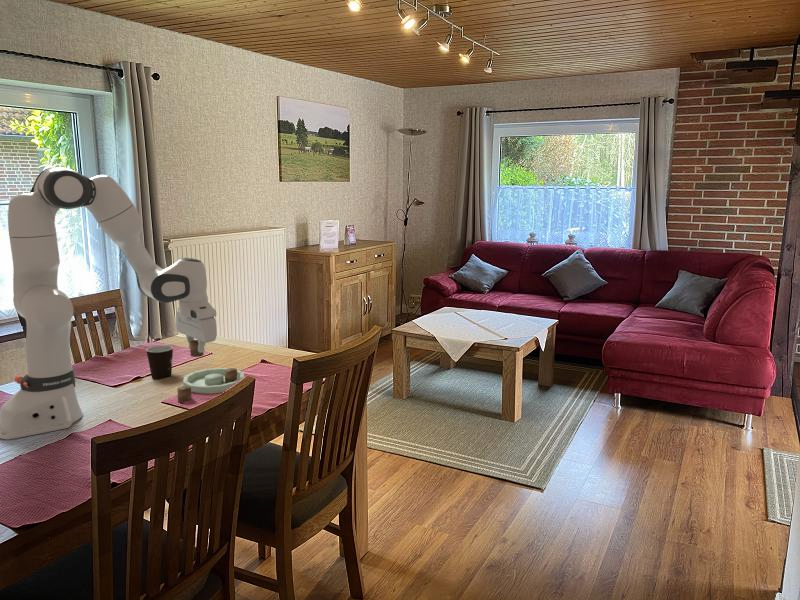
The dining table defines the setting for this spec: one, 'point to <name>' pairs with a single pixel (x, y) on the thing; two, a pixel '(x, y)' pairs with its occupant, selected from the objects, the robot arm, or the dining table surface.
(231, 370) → the bead
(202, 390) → the tray
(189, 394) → the bead
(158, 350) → the coffee mug
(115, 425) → the dining table surface
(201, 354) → the bead
